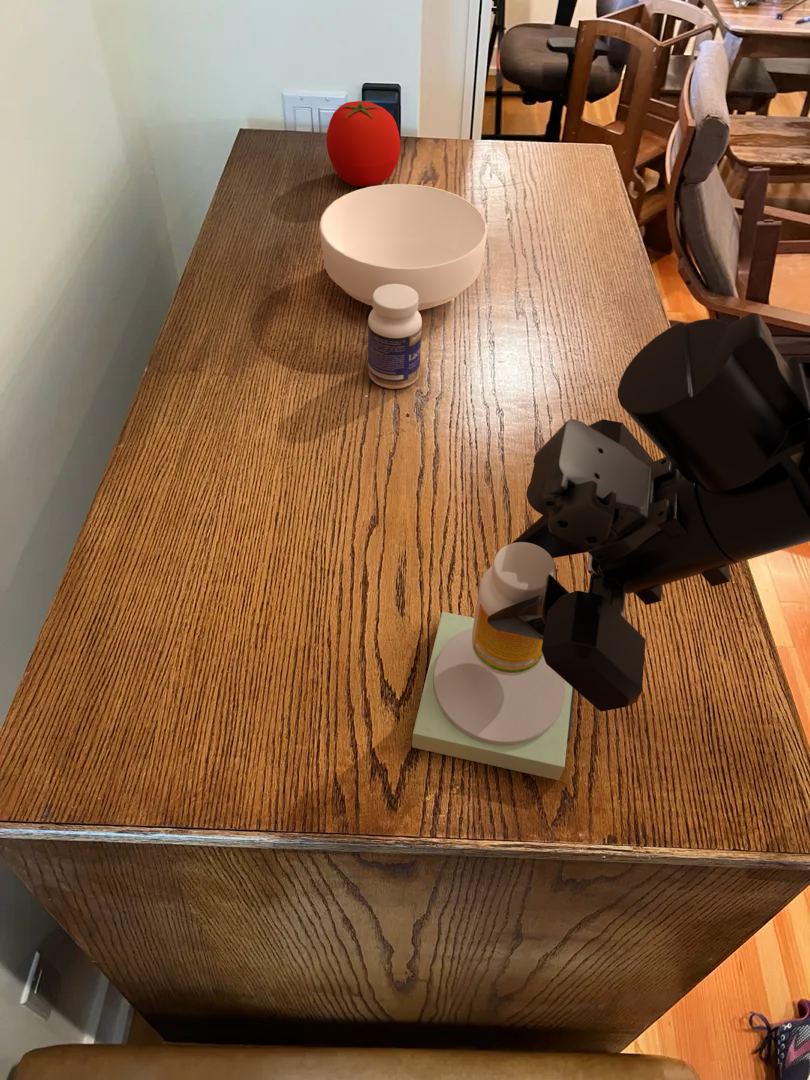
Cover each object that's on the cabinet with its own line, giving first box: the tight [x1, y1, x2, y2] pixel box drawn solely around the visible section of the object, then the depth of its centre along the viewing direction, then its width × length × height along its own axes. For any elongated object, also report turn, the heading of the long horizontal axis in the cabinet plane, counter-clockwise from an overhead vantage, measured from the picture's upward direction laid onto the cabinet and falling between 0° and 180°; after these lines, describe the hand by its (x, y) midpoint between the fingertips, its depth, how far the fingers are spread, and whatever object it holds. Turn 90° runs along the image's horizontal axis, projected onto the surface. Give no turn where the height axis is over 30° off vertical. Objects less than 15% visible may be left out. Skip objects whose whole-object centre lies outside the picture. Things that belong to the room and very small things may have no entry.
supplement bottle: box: [472, 542, 556, 676], centre depth 53 cm, size 5×5×10 cm
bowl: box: [319, 183, 488, 312], centre depth 93 cm, size 20×20×8 cm
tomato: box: [325, 100, 401, 187], centre depth 110 cm, size 10×11×11 cm
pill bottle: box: [367, 284, 423, 390], centre depth 82 cm, size 6×6×10 cm
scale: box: [411, 611, 576, 781], centre depth 59 cm, size 11×11×3 cm
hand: (499, 589), depth 52 cm, fingers closed on supplement bottle, 5 cm apart
